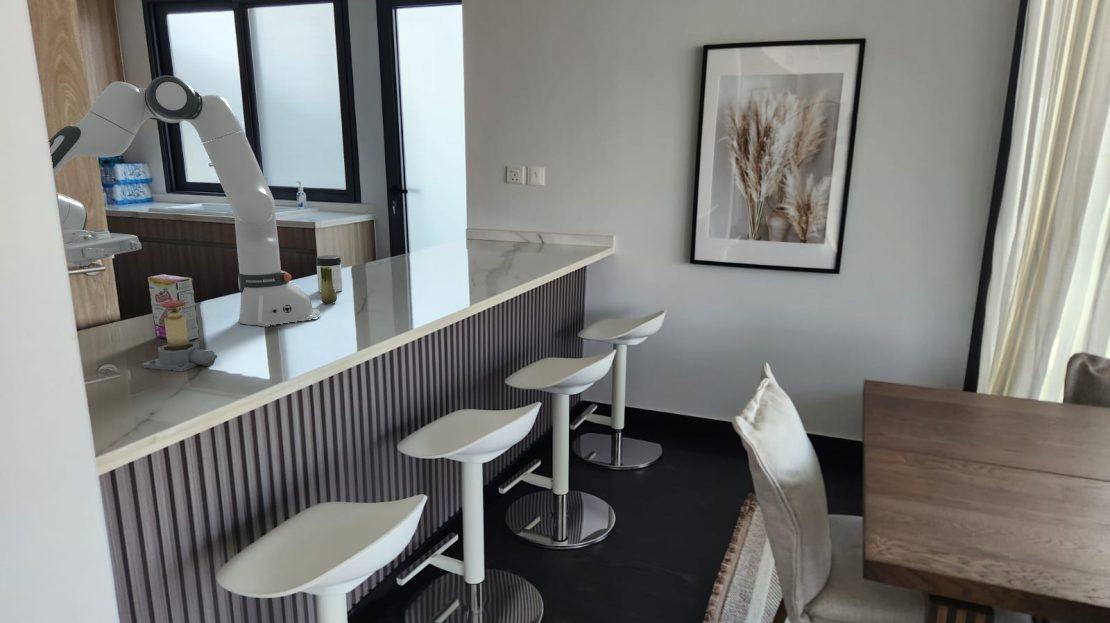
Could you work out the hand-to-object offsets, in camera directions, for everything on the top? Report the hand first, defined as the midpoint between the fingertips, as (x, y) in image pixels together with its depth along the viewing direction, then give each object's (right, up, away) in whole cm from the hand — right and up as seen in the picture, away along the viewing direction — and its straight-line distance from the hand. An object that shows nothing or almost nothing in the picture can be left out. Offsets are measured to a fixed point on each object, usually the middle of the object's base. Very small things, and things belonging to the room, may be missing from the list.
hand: (122, 249), depth 164 cm
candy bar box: (+3, -22, +18) cm, 29 cm away
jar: (+24, -8, +78) cm, 82 cm away
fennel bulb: (+30, -12, +59) cm, 67 cm away
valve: (+15, -26, -3) cm, 30 cm away
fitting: (+17, -27, -3) cm, 32 cm away
